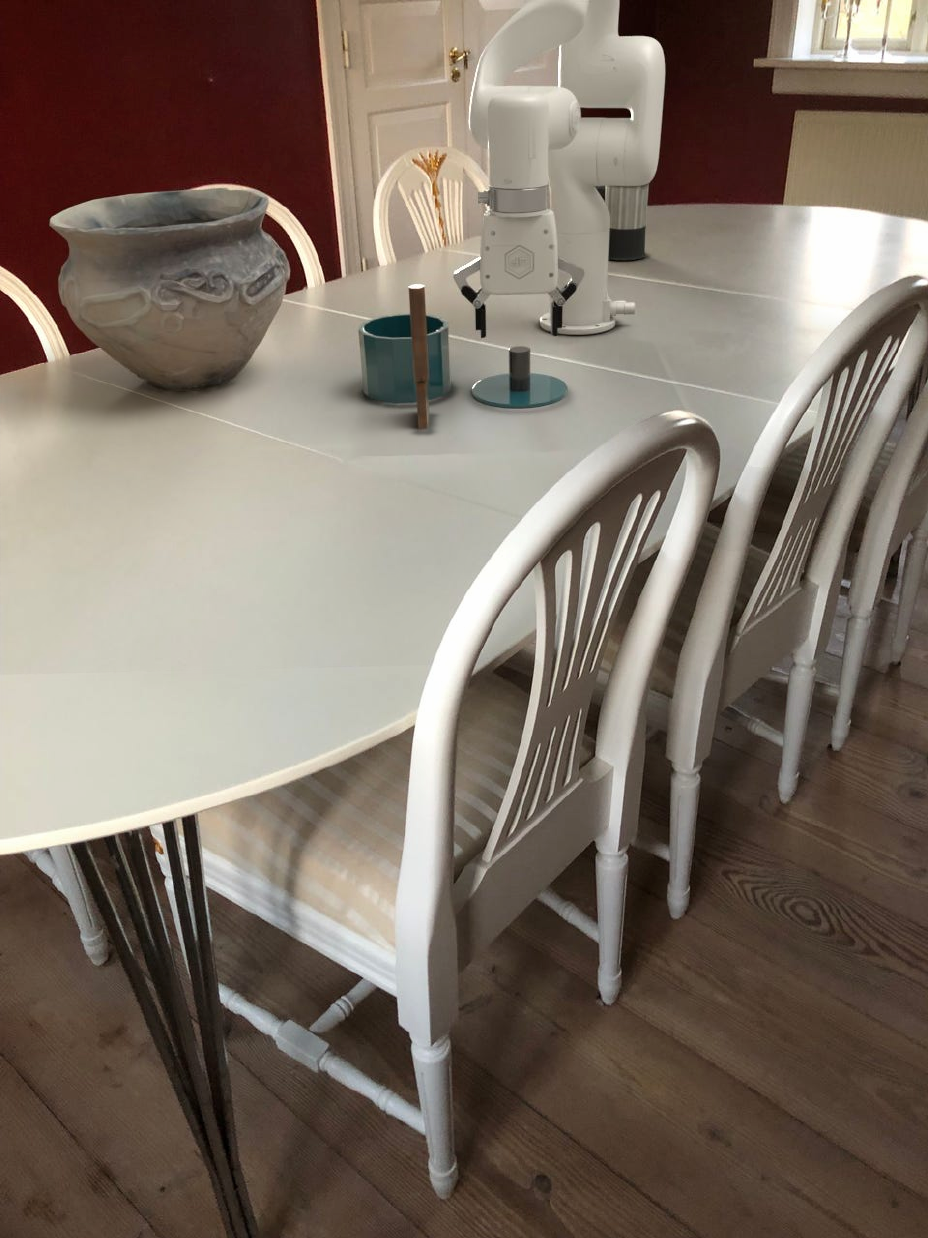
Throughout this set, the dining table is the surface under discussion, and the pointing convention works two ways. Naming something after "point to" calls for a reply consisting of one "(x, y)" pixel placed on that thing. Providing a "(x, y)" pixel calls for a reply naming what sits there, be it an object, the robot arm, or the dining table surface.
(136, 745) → the dining table surface
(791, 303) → the dining table surface
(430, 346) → the pot
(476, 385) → the lid
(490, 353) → the dining table surface
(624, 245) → the milk frother
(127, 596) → the dining table surface
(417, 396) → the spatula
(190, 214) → the clay pot
